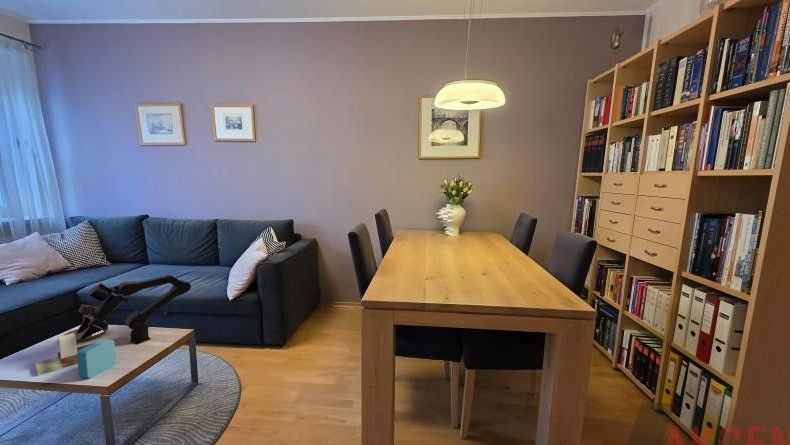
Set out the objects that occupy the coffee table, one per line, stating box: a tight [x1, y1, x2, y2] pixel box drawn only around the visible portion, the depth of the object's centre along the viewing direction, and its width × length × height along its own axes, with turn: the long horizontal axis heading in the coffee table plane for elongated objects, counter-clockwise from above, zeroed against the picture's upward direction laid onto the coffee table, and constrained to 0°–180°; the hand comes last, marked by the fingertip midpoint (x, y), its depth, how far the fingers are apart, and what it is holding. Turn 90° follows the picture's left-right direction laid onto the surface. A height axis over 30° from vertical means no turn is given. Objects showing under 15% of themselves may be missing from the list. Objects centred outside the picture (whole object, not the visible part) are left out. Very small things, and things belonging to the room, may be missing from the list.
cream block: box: [57, 333, 78, 359], centre depth 145 cm, size 5×5×10 cm
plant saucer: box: [62, 326, 109, 344], centre depth 169 cm, size 18×18×3 cm
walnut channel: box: [34, 341, 97, 377], centre depth 147 cm, size 23×10×4 cm, turn 142°
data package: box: [77, 338, 117, 379], centre depth 138 cm, size 12×4×12 cm, turn 173°
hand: (79, 335), depth 148 cm, fingers open, 9 cm apart
